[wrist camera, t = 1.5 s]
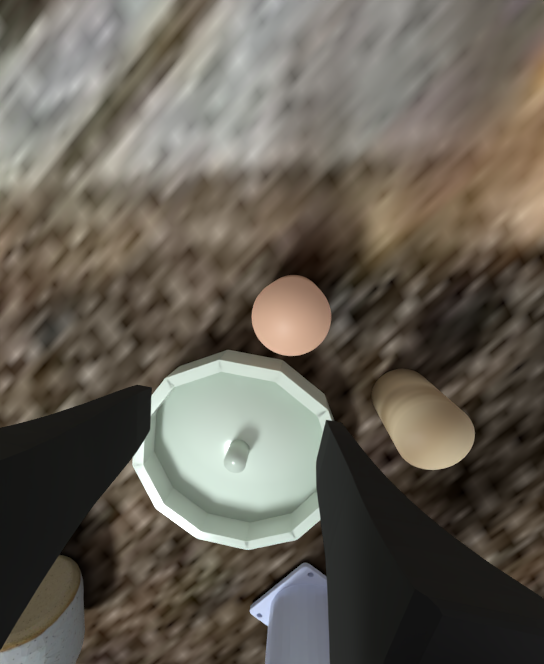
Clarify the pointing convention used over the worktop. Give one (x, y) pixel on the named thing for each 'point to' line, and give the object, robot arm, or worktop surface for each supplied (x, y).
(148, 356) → the worktop surface
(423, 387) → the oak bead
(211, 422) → the groove tray
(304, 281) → the peach rounded oval piece
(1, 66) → the worktop surface
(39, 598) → the ceramic mug
